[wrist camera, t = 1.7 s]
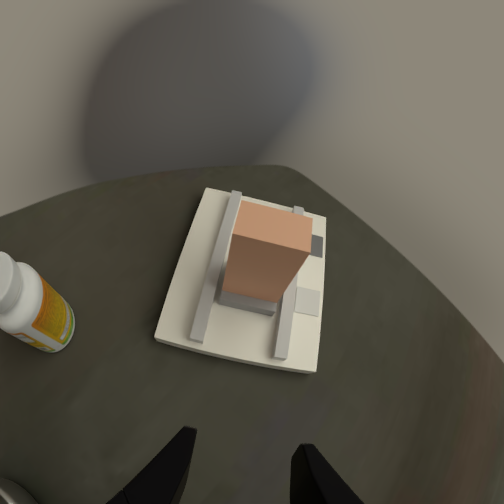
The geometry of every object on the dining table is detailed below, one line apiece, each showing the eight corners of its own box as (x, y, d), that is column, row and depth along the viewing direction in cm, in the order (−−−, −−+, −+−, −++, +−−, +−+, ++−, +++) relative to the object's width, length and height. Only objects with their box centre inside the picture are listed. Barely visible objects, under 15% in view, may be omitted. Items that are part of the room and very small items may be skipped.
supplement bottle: (63, 287, 22) (13, 228, 13) (85, 335, 20) (28, 291, 12) (24, 314, 19) (-35, 266, 11) (43, 363, 18) (-26, 331, 9)
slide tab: (272, 316, 22) (309, 264, 15) (219, 304, 22) (229, 244, 15) (278, 273, 25) (313, 209, 17) (229, 262, 24) (243, 191, 17)
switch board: (309, 373, 22) (320, 370, 20) (157, 341, 21) (151, 334, 19) (321, 225, 30) (329, 211, 28) (205, 197, 30) (206, 180, 28)
